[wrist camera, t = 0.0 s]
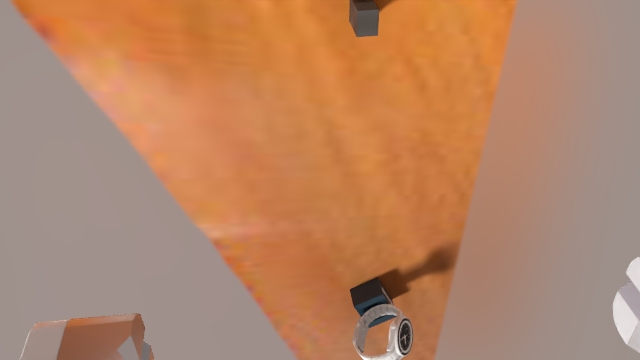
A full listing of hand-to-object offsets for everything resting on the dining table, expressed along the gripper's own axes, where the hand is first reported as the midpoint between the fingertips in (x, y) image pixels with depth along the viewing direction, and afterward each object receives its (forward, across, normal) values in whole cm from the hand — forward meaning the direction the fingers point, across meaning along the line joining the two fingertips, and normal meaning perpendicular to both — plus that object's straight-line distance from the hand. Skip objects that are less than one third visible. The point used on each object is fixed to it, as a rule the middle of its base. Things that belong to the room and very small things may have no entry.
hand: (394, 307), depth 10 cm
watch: (+48, -12, +55) cm, 74 cm away
